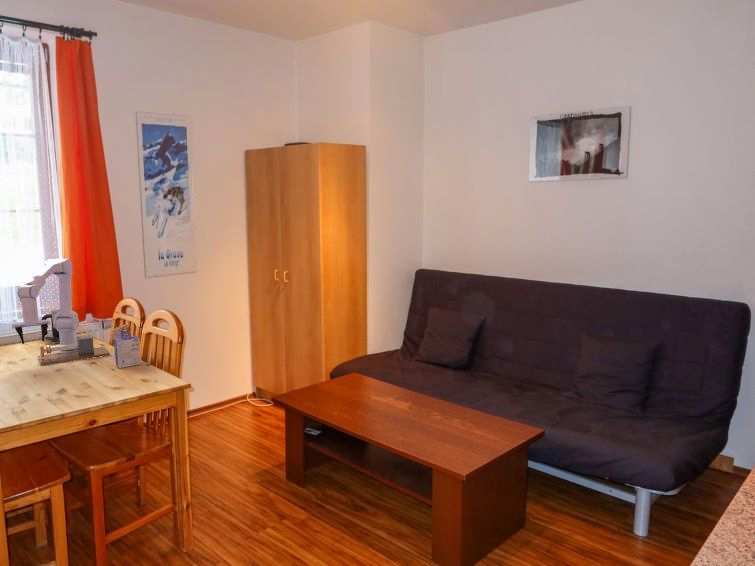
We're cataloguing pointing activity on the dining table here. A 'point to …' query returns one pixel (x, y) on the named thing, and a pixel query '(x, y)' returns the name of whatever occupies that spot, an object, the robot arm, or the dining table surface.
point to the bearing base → (76, 352)
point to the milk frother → (54, 331)
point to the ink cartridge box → (127, 350)
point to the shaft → (56, 348)
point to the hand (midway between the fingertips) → (33, 342)
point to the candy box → (120, 330)
